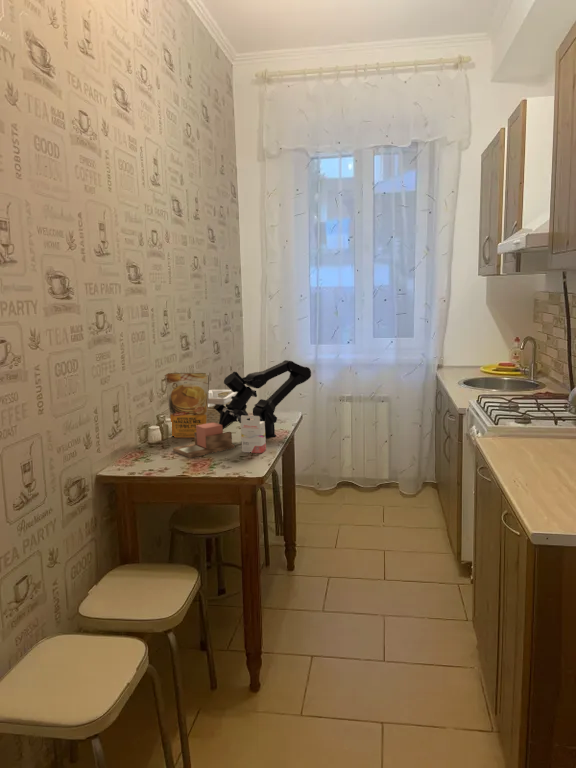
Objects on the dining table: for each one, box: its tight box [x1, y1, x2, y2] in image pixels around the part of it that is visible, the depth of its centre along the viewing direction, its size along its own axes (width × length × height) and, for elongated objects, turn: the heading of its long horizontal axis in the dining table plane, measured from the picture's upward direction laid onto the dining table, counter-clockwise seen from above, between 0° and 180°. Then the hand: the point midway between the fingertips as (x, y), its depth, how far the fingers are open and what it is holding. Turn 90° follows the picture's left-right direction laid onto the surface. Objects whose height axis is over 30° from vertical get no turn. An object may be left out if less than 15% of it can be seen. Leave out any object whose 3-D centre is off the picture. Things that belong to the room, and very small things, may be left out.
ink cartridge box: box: [240, 415, 267, 454], centre depth 232 cm, size 9×5×15 cm, turn 70°
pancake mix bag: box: [164, 372, 210, 439], centre depth 257 cm, size 7×19×28 cm, turn 81°
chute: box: [172, 431, 235, 459], centre depth 237 cm, size 20×14×6 cm
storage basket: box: [207, 389, 237, 429], centre depth 281 cm, size 24×16×15 cm
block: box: [196, 422, 224, 448], centre depth 238 cm, size 8×7×8 cm
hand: (219, 429), depth 241 cm, fingers closed
